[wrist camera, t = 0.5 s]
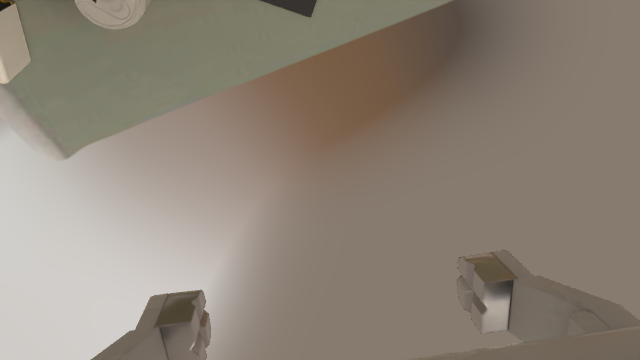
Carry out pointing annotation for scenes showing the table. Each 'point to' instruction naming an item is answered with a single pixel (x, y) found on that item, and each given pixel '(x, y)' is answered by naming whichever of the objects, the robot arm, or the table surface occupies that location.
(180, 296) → the robot arm
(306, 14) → the mat
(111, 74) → the table surface
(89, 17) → the beverage can
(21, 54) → the medicine bottle
